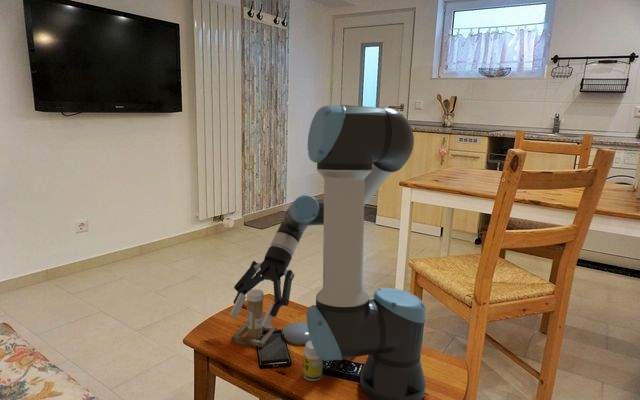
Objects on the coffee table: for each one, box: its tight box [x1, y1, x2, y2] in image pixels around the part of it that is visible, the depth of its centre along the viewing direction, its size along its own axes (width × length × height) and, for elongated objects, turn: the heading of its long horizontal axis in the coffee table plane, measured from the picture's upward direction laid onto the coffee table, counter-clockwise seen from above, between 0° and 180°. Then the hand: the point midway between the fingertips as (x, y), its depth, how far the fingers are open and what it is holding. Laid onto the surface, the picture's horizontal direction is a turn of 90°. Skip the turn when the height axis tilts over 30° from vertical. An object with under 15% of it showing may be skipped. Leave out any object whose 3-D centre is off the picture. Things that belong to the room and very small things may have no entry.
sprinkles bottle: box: [246, 289, 265, 339], centre depth 117 cm, size 5×5×13 cm
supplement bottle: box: [302, 340, 324, 382], centre depth 101 cm, size 5×5×8 cm
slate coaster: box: [282, 321, 311, 346], centre depth 121 cm, size 11×11×1 cm
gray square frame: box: [231, 321, 278, 348], centre depth 118 cm, size 9×9×1 cm
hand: (248, 321), depth 115 cm, fingers open, 10 cm apart
